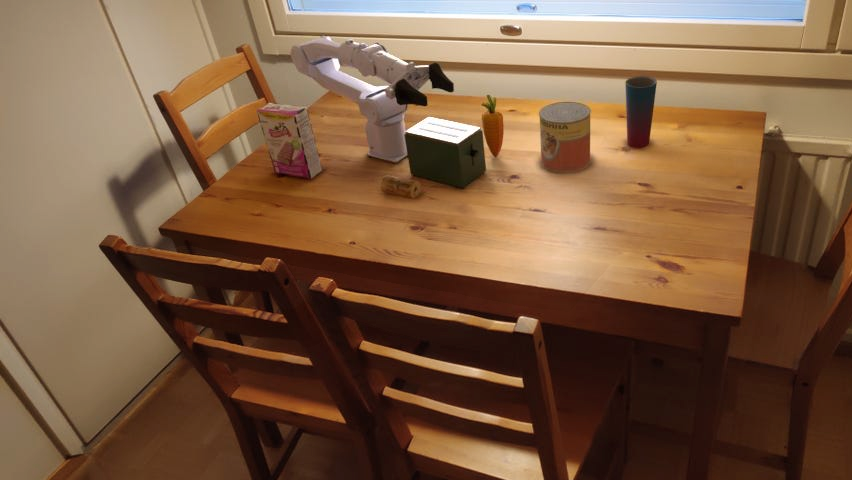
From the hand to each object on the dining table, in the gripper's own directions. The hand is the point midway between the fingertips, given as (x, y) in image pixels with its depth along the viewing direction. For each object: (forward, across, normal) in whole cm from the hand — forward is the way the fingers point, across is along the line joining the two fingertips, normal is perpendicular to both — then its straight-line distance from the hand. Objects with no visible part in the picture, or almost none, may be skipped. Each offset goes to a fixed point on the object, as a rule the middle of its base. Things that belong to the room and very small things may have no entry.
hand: (439, 94), depth 145 cm
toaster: (+2, -1, +19) cm, 19 cm away
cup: (+28, +36, +18) cm, 49 cm away
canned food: (+20, +20, +18) cm, 33 cm away
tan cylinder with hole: (0, -14, +19) cm, 23 cm away
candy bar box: (-28, -22, +23) cm, 42 cm away
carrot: (+5, +12, +20) cm, 23 cm away
